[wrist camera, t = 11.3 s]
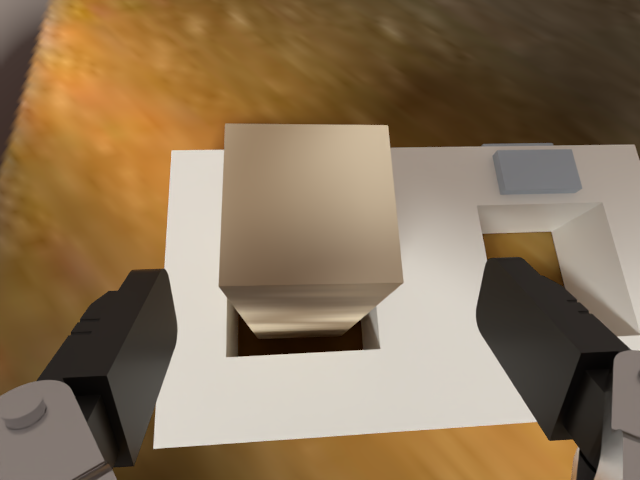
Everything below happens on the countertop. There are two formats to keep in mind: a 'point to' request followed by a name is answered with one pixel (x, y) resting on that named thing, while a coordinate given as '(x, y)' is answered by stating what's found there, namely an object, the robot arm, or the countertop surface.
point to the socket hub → (400, 296)
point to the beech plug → (307, 226)
